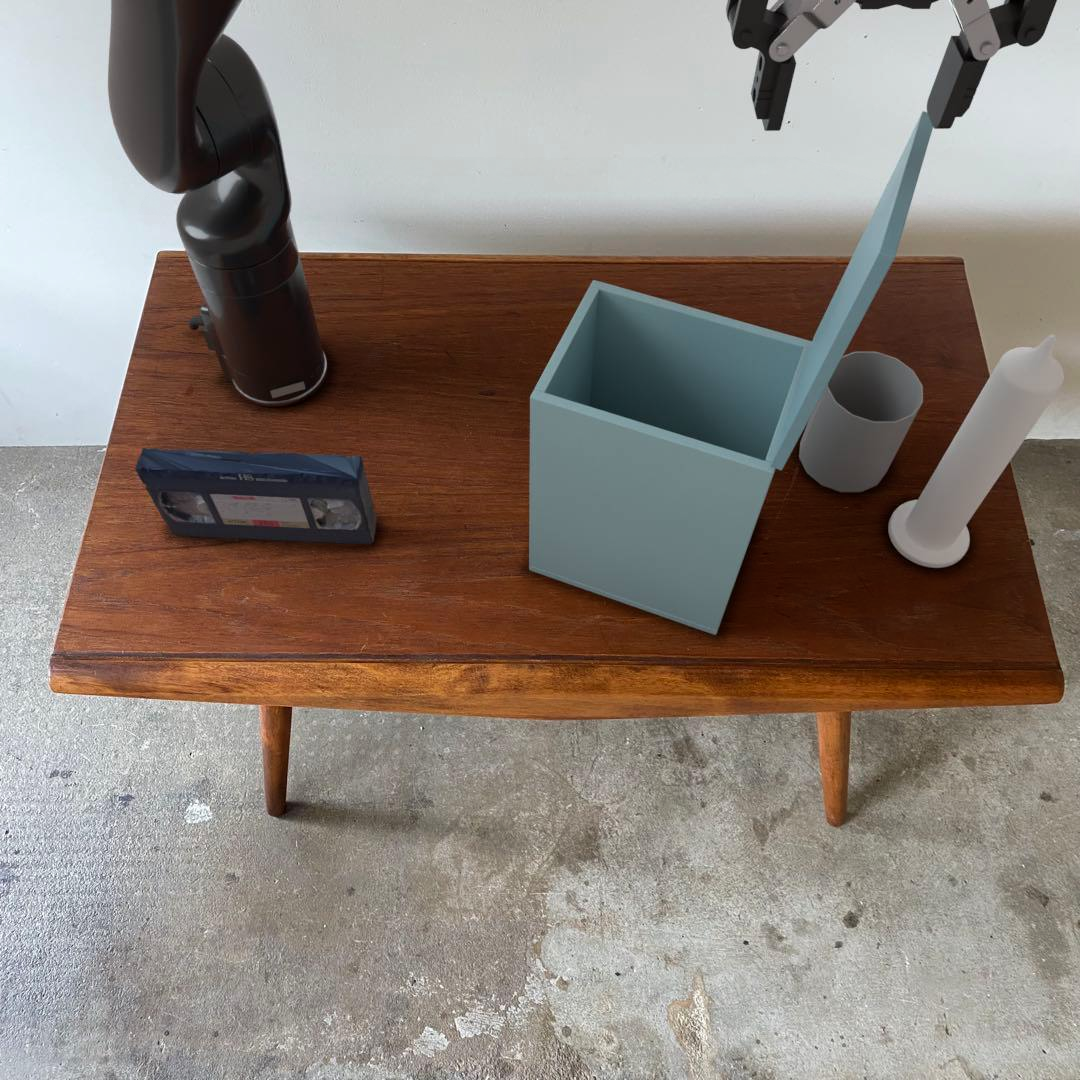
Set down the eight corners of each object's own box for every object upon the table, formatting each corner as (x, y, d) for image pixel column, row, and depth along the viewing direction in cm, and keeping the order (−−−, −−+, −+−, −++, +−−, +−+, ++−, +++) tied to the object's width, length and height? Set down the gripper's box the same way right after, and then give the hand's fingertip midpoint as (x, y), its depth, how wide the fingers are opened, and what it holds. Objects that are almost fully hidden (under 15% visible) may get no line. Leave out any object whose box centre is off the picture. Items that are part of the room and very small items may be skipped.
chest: (528, 570, 85) (529, 396, 66) (579, 465, 91) (593, 279, 72) (715, 635, 81) (774, 473, 62) (754, 521, 88) (817, 342, 69)
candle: (952, 581, 85) (1091, 389, 64) (875, 545, 87) (987, 347, 66) (977, 525, 88) (1118, 324, 67) (903, 491, 90) (1018, 286, 69)
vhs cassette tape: (170, 536, 86) (132, 468, 78) (179, 509, 88) (143, 440, 79) (373, 549, 86) (357, 483, 77) (379, 522, 87) (363, 454, 79)
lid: (879, 252, 47) (895, 257, 47) (922, 110, 53) (936, 115, 53) (769, 466, 62) (781, 471, 62) (814, 336, 68) (824, 340, 68)
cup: (896, 441, 93) (933, 369, 85) (875, 504, 89) (911, 435, 81) (812, 413, 95) (839, 340, 87) (787, 473, 91) (814, 402, 82)
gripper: (1132, -321, 37) (972, 77, 51) (766, -321, 37) (703, 79, 51) (1210, -246, 33) (1013, 166, 47) (799, -246, 33) (721, 168, 46)
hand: (852, 120), depth 49 cm, fingers open, 8 cm apart
